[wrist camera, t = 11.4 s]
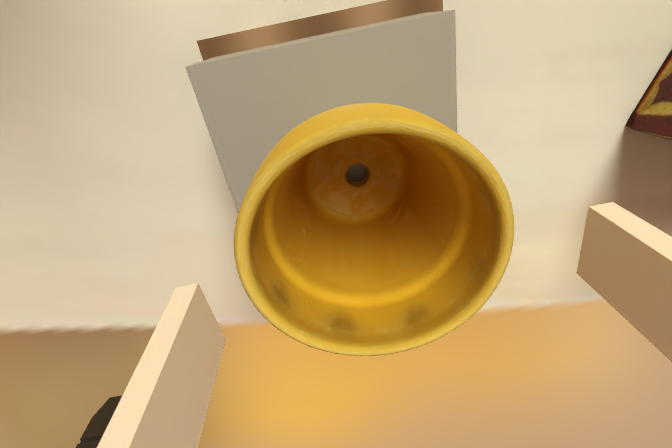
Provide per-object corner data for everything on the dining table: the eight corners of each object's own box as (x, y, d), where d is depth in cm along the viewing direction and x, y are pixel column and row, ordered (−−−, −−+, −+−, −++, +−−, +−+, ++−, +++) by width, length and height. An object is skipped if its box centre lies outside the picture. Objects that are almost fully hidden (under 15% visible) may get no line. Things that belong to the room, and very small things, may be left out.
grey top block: (270, 234, 31) (261, 277, 25) (213, 57, 24) (185, 66, 19) (433, 203, 30) (459, 241, 25) (423, 12, 23) (454, 9, 18)
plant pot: (380, 34, 18) (432, 41, 10) (468, 185, 23) (559, 282, 14) (231, 152, 21) (168, 238, 12) (335, 267, 25) (342, 391, 17)
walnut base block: (272, 212, 36) (265, 244, 31) (218, 37, 29) (196, 40, 23) (429, 182, 36) (448, 210, 30) (418, -5, 28) (442, -12, 23)
